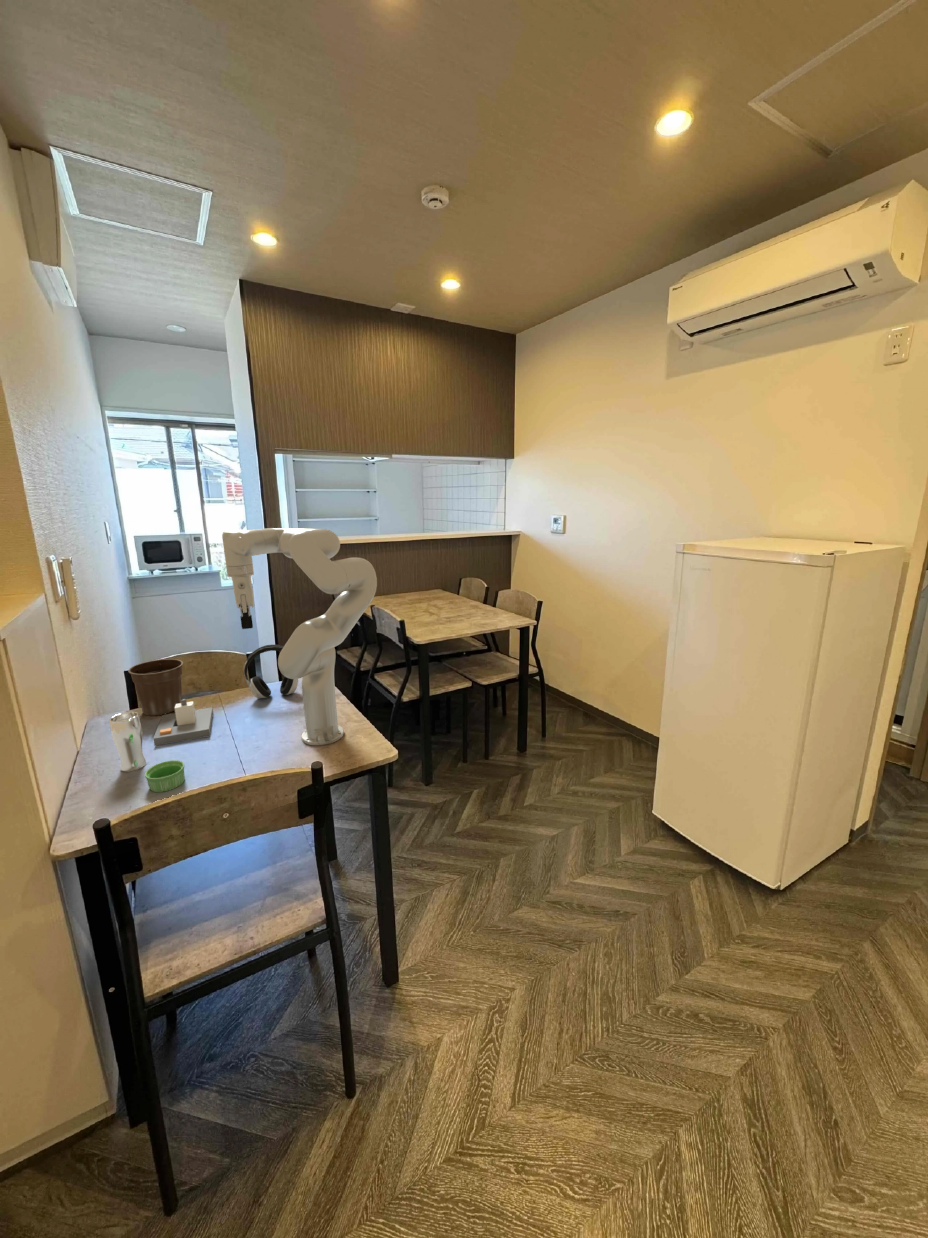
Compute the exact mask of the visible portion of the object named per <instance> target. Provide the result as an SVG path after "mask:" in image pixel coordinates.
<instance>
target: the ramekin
mask: <svg viewBox="0 0 928 1238" xmlns="http://www.w3.org/2000/svg"><path fill="white" fill-rule="evenodd" d="M144 777H145V779H146V781H147V785H148V788H149V790H151V792H154V793H164V792H163V791H165V792H168V791H167V790H169V791H171V789H172V790H174V789H176V788H179V786H181V785H182V784H183V783H184V782H185V779H186V777H185V763H184V761H181V760H175V759H174V760H173V759H172V760H166V761H161V762H159V763H156V764H154V765H153V766H151V767H149V768H147V770H146V771H145V773H144Z"/></svg>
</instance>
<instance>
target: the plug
mask: <svg viewBox="0 0 928 1238" xmlns="http://www.w3.org/2000/svg"><path fill="white" fill-rule="evenodd" d="M195 710H196V708H195V703H194V701H187V698H182V700H181V703H179V704H176V705H175V711H174V713H175V714H176V720H177V725H178V726H180V725H186V724H192V723H195V721H196V714H195Z"/></svg>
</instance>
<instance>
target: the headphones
mask: <svg viewBox="0 0 928 1238" xmlns="http://www.w3.org/2000/svg"><path fill="white" fill-rule="evenodd" d="M283 647H284V645H279V644H266V645H262V646H260V647H258V648H256V649H255V650H253V651H252V652H251V653H250V654H249V655H248V656H247V658H246V661H245V663H244V666H243V675H244V679H245V682H246V685H247V686H248V688H249V690H250V692H251V694H252V695H253V696H254V697H255V698H256V699H267V698H269V697H270V696H271V695H272V690H271V689H270V686H269V685H267V683H266V681H264V680H263V678H261V677H260V676H259V675H256V676H253V677H252V678H250V680H249V677H248V668H249V666H250V664H251V662H252V661H253V660H254V659H255V658H256V657H257V656H259V655H262V654H263V653H266V652H272V651H274V652H281V650H282V649H283ZM298 684H299V679H289V678H287V677H285V676H284V675H283V678H282V681H281V684H280V688H279V692H280V694H281V695H284V696H288V695H290V694H294V693H295V692H296V691H297V689H298V688H297V687H298V686H299V685H298Z"/></svg>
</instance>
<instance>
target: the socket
mask: <svg viewBox="0 0 928 1238" xmlns="http://www.w3.org/2000/svg"><path fill="white" fill-rule="evenodd" d="M213 710H214V709H213V707H212V706H211V707H206V708H200V709H198V708H197V709H195V714H196V721H195V723H192V724H186V725H180V726H178V725H177V720H176V714H175V712H173V713H168V714H164V715H161V718H160V720H159V723H158V725H157V727H156V728H157V729H156V730H155V734H154V736H153V745H154V746H155V745H157V746H161V745H167V743H168V744H172V742H174V743H179V742H184V741H189V740H196V739H201V738H208V737H210V736H211V733H212V732H211V731H212V724H213V719H214V711H213Z"/></svg>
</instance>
